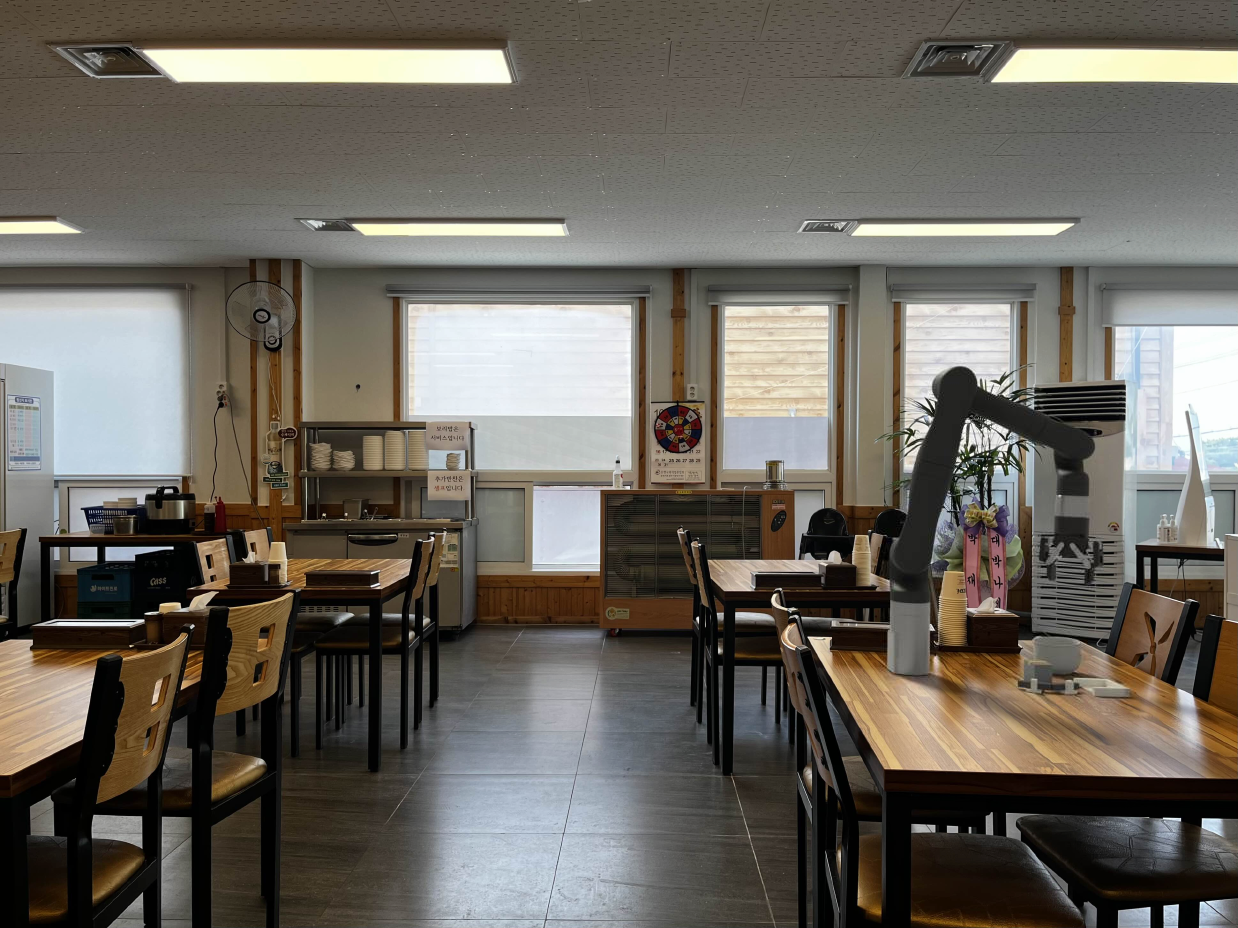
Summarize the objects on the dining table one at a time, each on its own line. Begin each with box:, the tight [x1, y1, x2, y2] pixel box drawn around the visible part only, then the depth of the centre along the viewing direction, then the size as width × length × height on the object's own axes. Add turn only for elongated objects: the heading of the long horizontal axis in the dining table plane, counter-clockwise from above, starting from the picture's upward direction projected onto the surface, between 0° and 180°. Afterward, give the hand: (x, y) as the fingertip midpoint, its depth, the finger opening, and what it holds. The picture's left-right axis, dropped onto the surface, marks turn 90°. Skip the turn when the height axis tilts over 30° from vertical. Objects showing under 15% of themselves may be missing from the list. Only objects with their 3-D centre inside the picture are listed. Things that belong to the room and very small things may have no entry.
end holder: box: [1073, 677, 1131, 698], centre depth 203 cm, size 8×10×2 cm
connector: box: [1023, 658, 1053, 683], centre depth 211 cm, size 4×6×5 cm, turn 178°
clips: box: [1025, 679, 1078, 696], centre depth 203 cm, size 11×6×3 cm, turn 88°
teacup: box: [1031, 636, 1082, 676], centre depth 226 cm, size 14×11×8 cm
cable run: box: [1017, 679, 1080, 692], centre depth 203 cm, size 13×4×1 cm, turn 88°
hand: (1069, 582), depth 217 cm, fingers open, 8 cm apart
